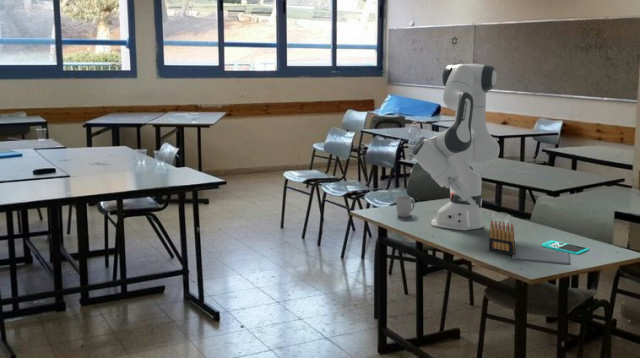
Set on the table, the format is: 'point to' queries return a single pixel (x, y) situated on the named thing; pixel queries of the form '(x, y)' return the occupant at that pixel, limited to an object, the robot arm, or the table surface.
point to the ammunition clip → (502, 238)
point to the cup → (404, 206)
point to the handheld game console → (564, 247)
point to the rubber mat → (541, 256)
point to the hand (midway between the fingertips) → (471, 202)
